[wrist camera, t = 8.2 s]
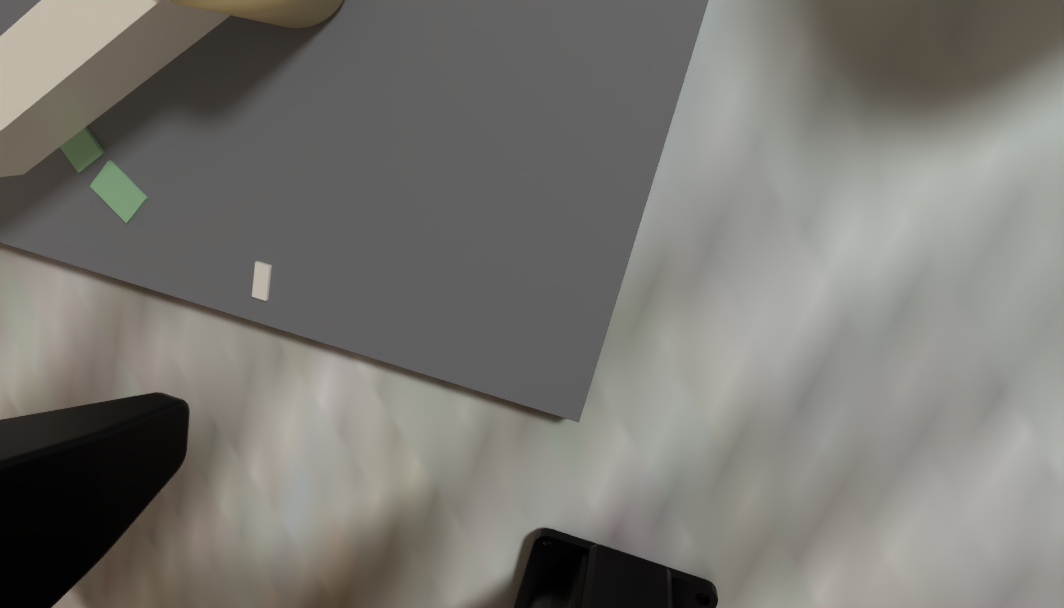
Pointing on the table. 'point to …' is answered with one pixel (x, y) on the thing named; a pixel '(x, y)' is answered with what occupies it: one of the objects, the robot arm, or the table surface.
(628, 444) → the table surface
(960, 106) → the table surface
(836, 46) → the table surface
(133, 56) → the beige and tan rod
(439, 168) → the grey flat square plate
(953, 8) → the table surface
